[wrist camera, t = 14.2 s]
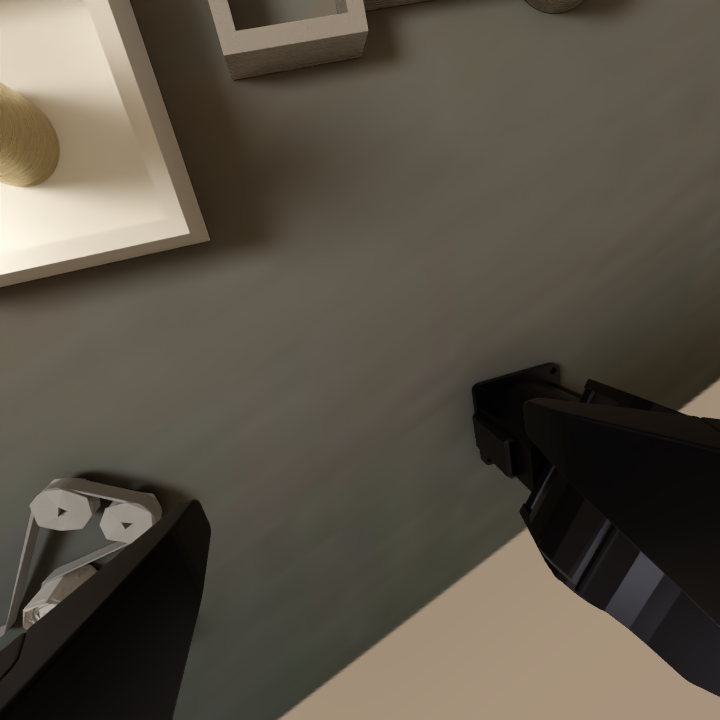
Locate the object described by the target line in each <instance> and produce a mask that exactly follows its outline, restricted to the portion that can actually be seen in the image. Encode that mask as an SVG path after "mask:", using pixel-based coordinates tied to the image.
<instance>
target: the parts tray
mask: <svg viewBox="0 0 720 720" xmlns="http://www.w3.org/2000/svg"><path fill="white" fill-rule="evenodd" d="M0 82H1V83H3V84H4V85H6V86H7V87H9V88H11V89H12V90H14V91H15V92H17V93H18V94H20V95H22V96H23V97H25V98H26V99H28V100H29V101H31V102H32V103H34V104H35V105H36V106H37V107H38V108H39V109H40V110H41V111H42V112H43V113H44V114H45V115H46V116H47V118H48V119H49V121H50V122H51V124H52V125H53V127H54V129H55V132H56V134H57V137H58V141H59V147H60V156H59V162H58V165H57V167H56V169H55V171H54V172H53V174H52V175H51V176H50V177H49V178H48V179H47V180H45V181H44V182H42V183H40V184H38V185H34V186H29V187H16V186H11V185H7V184H4V183H0V287H4V286H9V285H13V284H18V283H22V282H26V281H31V280H35V279H40V278H44V277H49V276H53V275H58V274H62V273H67V272H71V271H76V270H80V269H85V268H89V267H94V266H98V265H103V264H107V263H112V262H116V261H121V260H125V259H130V258H134V257H139V256H143V255H148V254H152V253H157V252H161V251H166V250H170V249H175V248H179V247H184V246H188V245H193V244H197V243H202V242H206V241H210V238H209V235H208V232H207V229H206V226H205V223H204V220H203V217H202V214H201V211H200V208H199V205H198V202H197V199H196V196H195V193H194V190H193V187H192V184H191V181H190V178H189V175H188V172H187V169H186V166H185V163H184V160H183V157H182V155H181V152H180V149H179V146H178V143H177V140H176V137H175V134H174V131H173V128H172V125H171V122H170V119H169V116H168V113H167V110H166V107H165V104H164V101H163V98H162V95H161V92H160V89H159V86H158V83H157V80H156V77H155V74H154V71H153V69H152V66H151V63H150V60H149V57H148V54H147V51H146V48H145V45H144V42H143V39H142V36H141V33H140V30H139V27H138V24H137V21H136V18H135V15H134V12H133V9H132V6H131V3H130V0H0Z"/></svg>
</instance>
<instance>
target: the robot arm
mask: <svg viewBox="0 0 720 720" xmlns="http://www.w3.org/2000/svg"><path fill="white" fill-rule="evenodd" d="M551 368H552V371H551V372H550V369H551ZM480 388H482V390H481V392H479V393H478V390H479V389H480ZM584 388H586V389H585V391H584V393H583V395H581V394H579V393H576V392H574V391H572V390H569V389H567V388H565V387H563V386H561V385H560V369H559V366H558V365H556V364H554V363H546V364H543V365H539V366H536V367H532V368H529V369H525V370H522V371H518V372H515V373H511V374H507V375H504V376H500V377H497V378H493V379H490V380H486V381H483V382H479V383H477V384H475V385H474V386H473V387H472V397H473V404H474V411H475V413H474V415H473V424H474V431H475V438H476V445H477V447H478V448H479V449H480V454H481V459H482V461H483V462H484V463H485V464H487V465H491V464H495V465H496V466H497V467H498V468H499V469H500V470H501V471H502V472H503V473H504V474H505V475H506V476H508V477H509V478H511V479H512V478H515V477H517V478H518V479H519V480H520V481H521V482H522V483H523V484H524V485H525V486H526V487H527V488H528V489H529V490H530V491H531V494H530V496H529V498H528V500H527V502H526V504H525V503H524V504H523V505H522V507H521V509H520V511H519V512H520V514H521V516H522V518H523V520H524V522H525V524H526V526H527V527H528V529H529V531H530V533H531V535H532V537H533V539H534V541H535V543H536V545H537V547H538V548H539V551H540V552H541V554H542V556H543V558H544V560H545V562H546V563H547V565H548V567H549V568H550V569H551V570H552V572H553V574H554V576H555V577H556V578H557V579H558V580H560V581H562V582H563V583H564V584H565V585H566V586H567V587H569V588H570V589H571V590H572V591H573V592H574V593H576V594H577V595H578V596H580V597H581V598H583V599H584V600H585V601H587V602H589V603H590V604H592V605H594V606H595V607H597V608H599V609H601V610H603V611H605V612H607V613H608V614H610V615H611V616H612V617H614V618H615V619H616V620H617V621H619V622H620V623H622V624H623V625H624V626H625V627H627V628H628V629H629V630H630V631H632V632H633V633H634V634H635V635H636V636H637V637H639V638H640V639H641V640H642V641H643V642H644V643H646V644H647V645H648V646H649V647H650V648H651V649H652V650H653V651H654V652H656V653H657V654H658V655H659V656H660V657H661V658H662V659H664V661H666V662H667V663H668V664H669V665H670V666H671V667H672V668H673V669H674V670H675V671H677V672H678V673H679V674H680V675H681V676H682V677H683V678H685V679H686V680H687V681H689V682H690V683H692V684H694V685H696V686H699V687H701V688H703V689H705V690H707V691H709V692H711V693H713V694H715V695H717V696H720V419H714V418H705V417H702V418H699V417H696V416H688V415H686V414H683V413H680V412H678V411H675V410H672V409H670V408H667V407H664V406H662V405H659V404H656V403H654V402H651V401H648V400H645V399H643V398H640V397H637V396H635V395H632V394H629V393H626V392H624V391H621V390H618V389H615V388H613V387H610V386H607V385H604V384H602V383H599V382H596V381H594V380H591V379H588V380H587V382H586V384H585V386H584ZM487 458H489V459H487ZM210 537H211V528H210V524H209V522H208V519H207V517H206V515H205V513H204V510H203V508H202V506H201V504H200V502H199V501H198V500H196V499H193V500H190V501H186V502H183V503H180V504H178V505H177V506H176V507H175V508H173V509H172V510H171V511H170V512H169V513H167V514H166V515H165V516H164V517H163V518H161V519H160V520H159V521H158V522H157V523H155V524H154V525H153V526H152V527H150V528H149V529H148V530H147V531H146V532H144V533H143V534H142V535H141V536H140V537H138V538H137V539H136V540H135V541H134V542H132V543H131V544H130V545H129V546H127V547H126V548H125V549H124V550H123V551H121V552H120V553H119V554H118V555H117V556H115V557H114V558H113V559H112V560H111V561H109V562H108V563H107V564H106V565H104V566H103V567H102V568H101V569H100V570H98V571H97V572H96V573H95V574H94V575H92V576H91V577H90V578H89V579H88V580H86V581H85V582H84V583H83V584H81V585H80V586H79V587H78V588H77V589H75V590H74V591H73V592H72V593H71V594H69V595H68V596H67V597H66V598H64V599H63V600H62V601H61V602H60V603H58V604H57V605H56V606H55V607H54V608H52V609H51V610H50V611H49V612H48V613H46V614H45V615H44V616H43V617H41V618H40V619H39V620H38V621H37V622H35V623H34V624H33V625H32V626H31V627H29V628H28V630H27V632H26V633H22V634H21V635H20V636H18V637H17V638H16V639H15V640H14V641H12V642H11V643H10V644H9V645H7V646H6V647H5V648H4V649H3V650H1V651H0V720H172V719H173V715H174V711H175V707H176V703H177V699H178V694H179V690H180V686H181V682H182V678H183V674H184V670H185V666H186V661H187V657H188V653H189V649H190V645H191V641H192V637H193V633H194V628H195V624H196V620H197V616H198V612H199V608H200V603H201V599H202V594H203V588H204V581H205V574H206V566H207V559H208V552H209V544H210Z"/></svg>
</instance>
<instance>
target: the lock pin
mask: <svg viewBox="0 0 720 720" xmlns="http://www.w3.org/2000/svg"><path fill="white" fill-rule="evenodd" d="M59 156H60V147H59V141H58V137H57V134H56V132H55V129H54V127H53V125H52V124H51V122H50V121H49V119H48V118H47V116H46V115H45V114H44V113H43V112H42V111H41V110H40V109H39V108H38V107H37V106H36V105H35V104H34V103H32V102H31V101H29V100H28V99H26V98H25V97H23V96H22V95H20V94H18V93H17V92H15V91H14V90H12V89H11V88H9V87H7V86H6V85H4V84H3V83H1V82H0V183H4V184H7V185H11V186H16V187H29V186H34V185H38V184H40V183H42V182H44V181H45V180H47V179H48V178H49V177H50V176H51V175H52V174H53V172H54V171H55V169H56V167H57V165H58V162H59Z"/></svg>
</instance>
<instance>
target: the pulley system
mask: <svg viewBox="0 0 720 720" xmlns="http://www.w3.org/2000/svg"><path fill="white" fill-rule="evenodd" d="M100 498H103V499H108V500H112V501H113V502H112V503H111V505H110V506H109V507H108V508H105V511H104V514H103V517H102V520H101V523H100V526H101V529H102V531H103V533H104V535H105V537H106V539H109V540H114V541H117V542H115V543H113V544H110V545H108V546H106V547H104V548H101V549H99V550H97V551H95V552H92V553H90V554H88V555H86V556H84V557H81V558H79V559H77V560H75V561H72V562H70V563H68V564H66V565H63V566H61V567H59V568H57V569H55V570H54V571H53V572H52V573H51V574H50V575H49V576H48V577H47V578H46V579H45V580H44V581H43V583H42V586H41V589H40V591H39V592H38V593H37V594H36V595H35V596H34V598H33V599H32V600H31V601H30V602H29V603H28V605H27V606H26V607H25V608H24V609H23V628H25V629H26V630H28V628H29V627H31V626H32V625H33V624H34V623H35V622H37V621H38V620H39V619H40V618H41V617H43V616H44V615H45V614H46V613H48V612H49V611H50V610H51V609H52V608H54V607H55V606H56V605H57V604H58V603H60V602H61V601H62V600H63V599H64V598H66V597H67V596H68V595H69V594H71V593H72V592H73V591H74V590H75V589H77V588H78V587H79V586H80V585H81V584H83V583H84V582H85V581H86V580H88V579H89V578H90V577H91V576H92V575H94V574H95V573H96V572H97V570H96V569H95V568H94V567H93V566H92V565H88V563H90V562H92V561H94V560H96V559H99V558H101V557H103V556H105V555H107V554H109V553H111V552H113V551H116V550H118V549H120V548H122V547H124V546H126V545H128V544H131V543H132V542H134V541H135V540H136V539H137V538H138V537H140V536H141V535H142V534H143V533H144V532H146V531H147V530H148V529H149V528H150V527H152V526H153V525H154V524H155V523H157V522H158V521H159V520H160V519H161V518H162V517H161V514H162V510H161V506H160V504H159V502H158V501H157V499H156V497H155V496H154V494H151V493H143V492H137V491H133V490H128V489H124V488H119V487H115V486H110V485H105V484H101V483H96V482H92V481H87V480H86V479H80V478H63V479H56V480H53V481H52V482H51V483H50V484H49V485H48V486H47V487H46V488H45V489H44V490H43V491H42V492H41V493H40V494H39V495H38V496H37V497H36V498H35V499H34V500H33V502H32V503H31V504H30V505H29V506H30V508H31V514H30V519H29V524H28V528H27V533H26V537H25V542H24V546H23V551H22V556H21V560H20V565H19V569H18V574H17V579H16V583H15V588H14V592H13V597H12V601H11V606H10V611H9V615H8V620H7V624H6V625H4V626H1V627H0V637H1V636H2V635H4V634H5V633H6V632H7V631H8V630H9V628H10V627H11V626H12V625H13V624H14V623H15V622H16V619H17V615H18V611H19V607H20V603H21V599H22V595H23V591H24V587H25V583H26V579H27V575H28V571H29V567H30V563H31V559H32V555H33V551H34V547H35V543H36V539H37V535H38V531H39V527H40V526H41V527H45V528H50V529H55V530H59V531H64V530H75V529H83V527H84V526H85V524H86V523H87V522H88V520H89V519H90V517H91V516H93V515H94V514H95V512H96V511H97V510H98V508H99V507H100V506H101V502H100Z"/></svg>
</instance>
